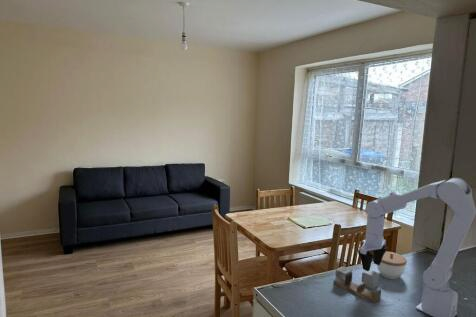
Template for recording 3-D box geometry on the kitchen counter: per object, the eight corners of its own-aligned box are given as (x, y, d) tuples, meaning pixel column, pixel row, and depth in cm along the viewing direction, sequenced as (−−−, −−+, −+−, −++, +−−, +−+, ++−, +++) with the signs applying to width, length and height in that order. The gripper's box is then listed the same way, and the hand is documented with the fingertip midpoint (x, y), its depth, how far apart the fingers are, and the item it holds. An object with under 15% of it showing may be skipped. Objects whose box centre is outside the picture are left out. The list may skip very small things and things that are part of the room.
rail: (380, 298, 111) (381, 283, 110) (373, 303, 108) (375, 287, 107) (340, 279, 123) (341, 265, 123) (333, 283, 121) (334, 269, 120)
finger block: (378, 285, 120) (379, 273, 119) (372, 289, 117) (373, 276, 117) (366, 280, 123) (367, 268, 122) (361, 283, 121) (362, 271, 120)
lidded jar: (397, 285, 120) (399, 262, 118) (370, 274, 128) (371, 252, 127) (409, 276, 127) (411, 254, 125) (383, 266, 135) (384, 245, 133)
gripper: (374, 225, 125) (371, 257, 127) (353, 233, 116) (350, 268, 118) (392, 230, 119) (389, 264, 121) (372, 239, 110) (368, 276, 112)
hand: (371, 267), depth 119 cm, fingers open, 7 cm apart
